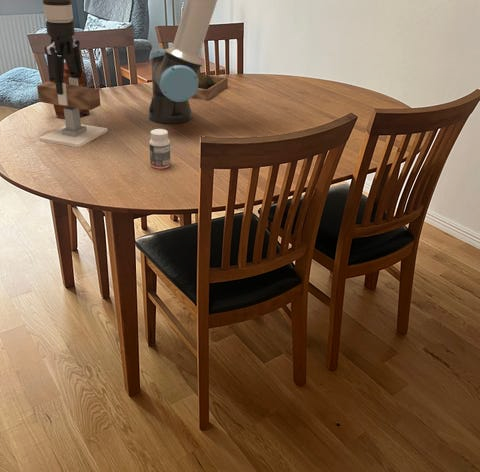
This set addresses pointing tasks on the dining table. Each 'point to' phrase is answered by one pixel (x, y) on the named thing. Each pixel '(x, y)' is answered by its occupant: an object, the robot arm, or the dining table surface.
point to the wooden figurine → (82, 82)
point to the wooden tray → (212, 88)
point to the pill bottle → (160, 149)
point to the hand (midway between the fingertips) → (69, 101)
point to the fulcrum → (73, 131)
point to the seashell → (205, 81)
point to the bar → (70, 96)
